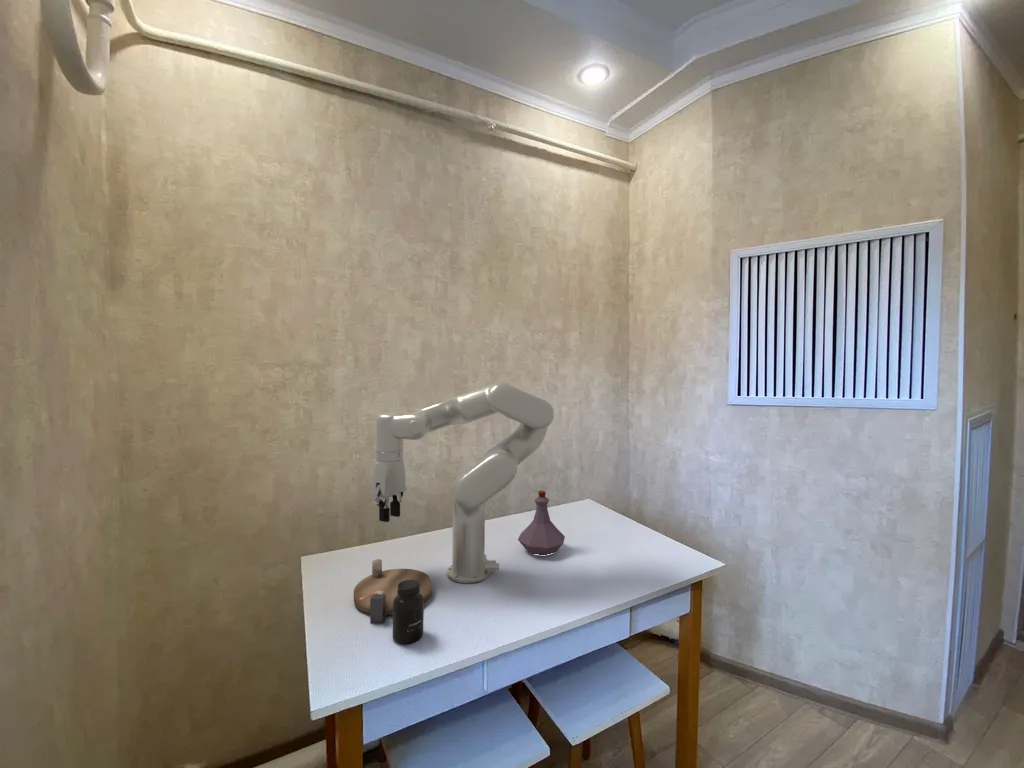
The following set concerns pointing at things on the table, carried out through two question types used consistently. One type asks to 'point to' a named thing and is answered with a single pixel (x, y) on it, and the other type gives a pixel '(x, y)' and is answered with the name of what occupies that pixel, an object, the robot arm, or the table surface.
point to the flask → (541, 531)
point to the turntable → (388, 585)
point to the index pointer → (378, 608)
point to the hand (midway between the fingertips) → (389, 517)
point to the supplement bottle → (408, 613)
